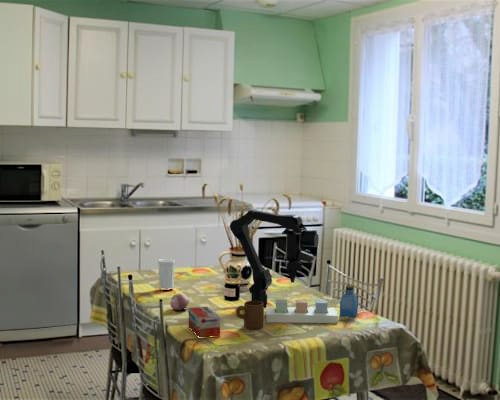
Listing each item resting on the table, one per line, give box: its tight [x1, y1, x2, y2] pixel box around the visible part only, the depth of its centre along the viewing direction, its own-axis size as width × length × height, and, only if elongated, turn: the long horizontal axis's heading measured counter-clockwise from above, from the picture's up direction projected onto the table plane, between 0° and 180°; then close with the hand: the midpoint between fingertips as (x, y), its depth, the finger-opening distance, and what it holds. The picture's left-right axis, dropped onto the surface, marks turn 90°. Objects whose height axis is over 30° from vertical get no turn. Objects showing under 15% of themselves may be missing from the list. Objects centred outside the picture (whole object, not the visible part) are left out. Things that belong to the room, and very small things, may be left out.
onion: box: [169, 293, 190, 311], centre depth 276 cm, size 8×8×7 cm
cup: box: [157, 258, 176, 289], centre depth 310 cm, size 8×8×14 cm
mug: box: [235, 300, 265, 330], centre depth 251 cm, size 12×8×9 cm, turn 127°
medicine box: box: [187, 305, 221, 338], centre depth 245 cm, size 15×8×8 cm, turn 22°
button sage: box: [275, 299, 288, 312], centre depth 265 cm, size 4×4×4 cm
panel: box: [265, 306, 339, 324], centre depth 266 cm, size 28×12×3 cm, turn 90°
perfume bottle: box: [339, 285, 359, 319], centre depth 271 cm, size 6×6×12 cm
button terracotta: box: [295, 299, 308, 313], centre depth 265 cm, size 4×4×4 cm
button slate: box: [314, 299, 329, 313], centre depth 265 cm, size 4×4×4 cm
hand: (292, 281), depth 278 cm, fingers open, 2 cm apart
